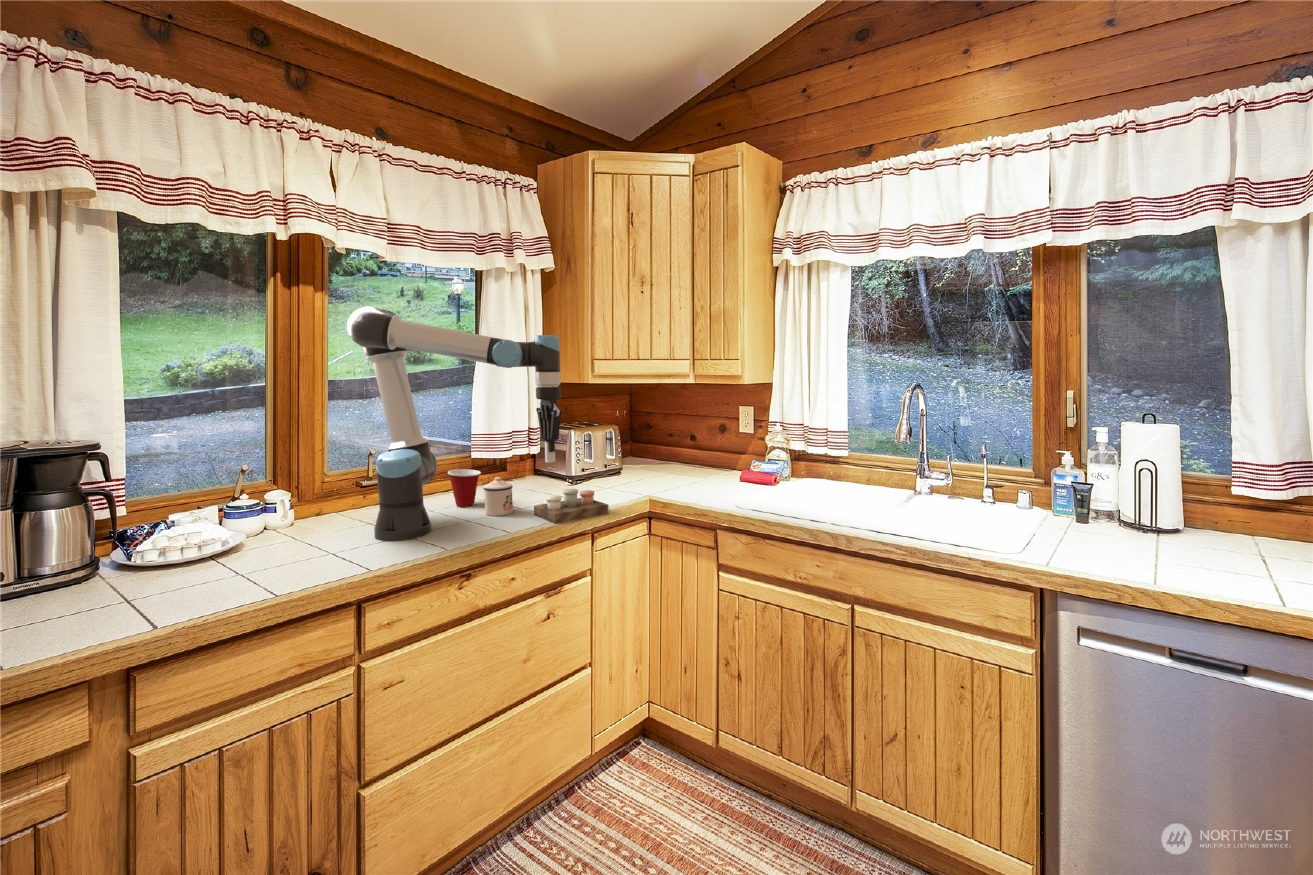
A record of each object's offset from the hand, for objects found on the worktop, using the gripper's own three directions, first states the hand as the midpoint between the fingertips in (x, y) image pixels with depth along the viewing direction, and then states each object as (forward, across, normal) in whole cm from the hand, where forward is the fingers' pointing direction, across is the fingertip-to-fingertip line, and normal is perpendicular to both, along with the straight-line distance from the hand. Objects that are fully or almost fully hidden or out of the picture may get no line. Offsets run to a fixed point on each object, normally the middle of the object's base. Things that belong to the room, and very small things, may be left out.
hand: (550, 462), depth 191 cm
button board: (+17, -2, -6) cm, 18 cm away
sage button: (+15, -2, -6) cm, 16 cm away
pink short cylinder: (+16, -2, -12) cm, 20 cm away
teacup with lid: (+18, +16, +10) cm, 26 cm away
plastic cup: (+18, +32, +16) cm, 40 cm away
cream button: (+16, -2, 0) cm, 16 cm away
